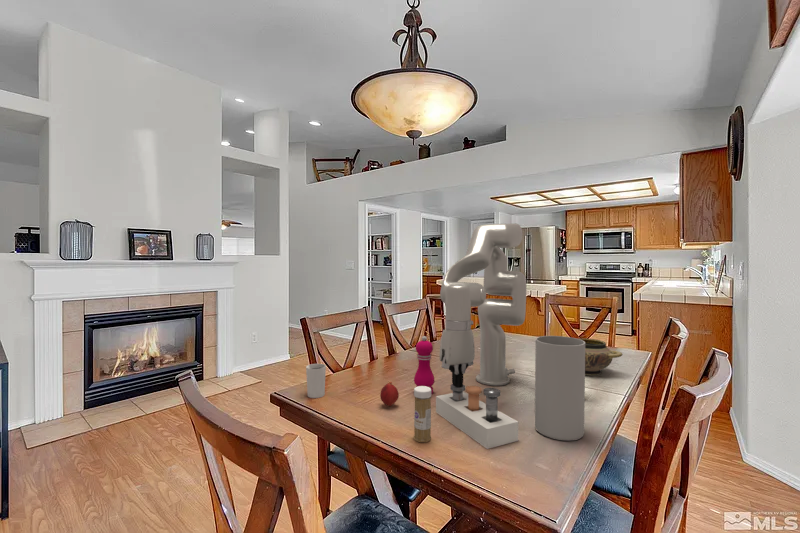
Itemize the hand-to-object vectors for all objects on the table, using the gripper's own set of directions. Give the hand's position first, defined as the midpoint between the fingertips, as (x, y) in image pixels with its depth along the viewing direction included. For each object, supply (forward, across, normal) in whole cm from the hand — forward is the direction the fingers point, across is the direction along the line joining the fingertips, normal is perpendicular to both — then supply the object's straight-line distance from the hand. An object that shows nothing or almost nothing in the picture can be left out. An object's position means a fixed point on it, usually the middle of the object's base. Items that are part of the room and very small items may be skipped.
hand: (457, 385), depth 116 cm
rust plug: (+6, 0, +8) cm, 10 cm away
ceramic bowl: (+9, -73, -13) cm, 74 cm away
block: (+9, 0, +8) cm, 12 cm away
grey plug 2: (+4, 0, +16) cm, 17 cm away
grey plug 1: (+8, 0, 0) cm, 8 cm away
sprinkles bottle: (+9, +17, +9) cm, 21 cm away
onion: (+9, +16, -15) cm, 24 cm away
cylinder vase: (+9, -19, +21) cm, 30 cm away
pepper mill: (+9, 0, -21) cm, 23 cm away
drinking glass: (+9, +35, -35) cm, 50 cm away
